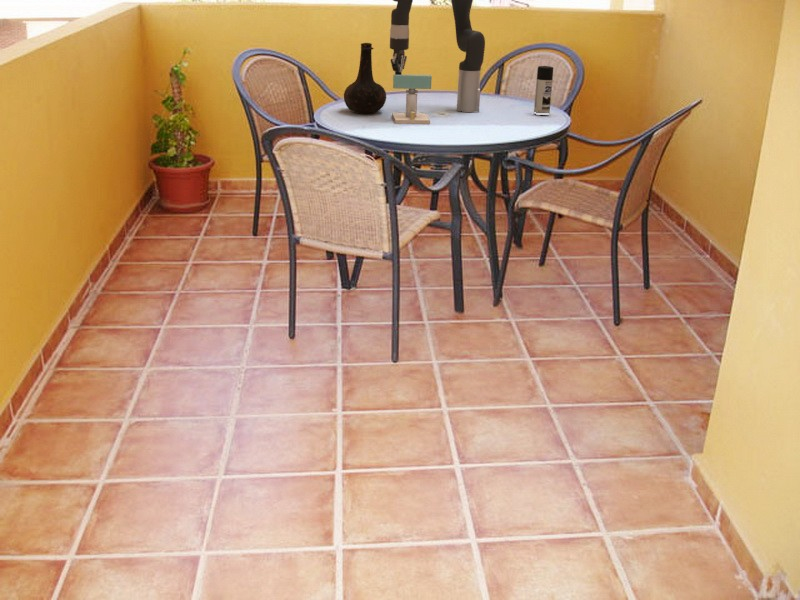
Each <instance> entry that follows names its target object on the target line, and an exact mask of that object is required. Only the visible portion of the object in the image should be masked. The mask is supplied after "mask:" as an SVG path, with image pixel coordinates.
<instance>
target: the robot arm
mask: <svg viewBox="0 0 800 600" xmlns="http://www.w3.org/2000/svg"><path fill="white" fill-rule="evenodd" d="M392 1H394V2H396V8H393V9H392V10H391V16H390V29H389V31H390V32H389V49H391V50H393V53H392V58H391V59H390V64H391V68H392V71H394V75H403V74H402V72H403V70H404V69H405V66H406V62H407V55H406V53H405V51H407V50H409V47H410V46H409V45H410V24H409V23H410V12H411V9H412V6H413V2H414V1H413V0H392ZM473 2H474V0H450V3H451V7H452V13H453V18H454V26H455V27H454V28H455V38H456V44H457V48H458V49H459V50H460V51H461V52H463V53H465V57H464V60H463V61H460V62H459V65H458V80H457V94H456V95H457V97H456V99H457V100H456V111H457V110H458V112H461V111H462V112H461V113H475V112H474V111H479V112H480V101H481V100H480V99H481V89H480V87H481V86H480V85H481V84H480V83H481V72H482V71H481V69H482V65H483V62H484V57H485V48H486V37H485V36H484V33H482V32H481V31H479V30H473V28H472V23H471V16H470V15H471V9H472V6H473Z"/></svg>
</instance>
